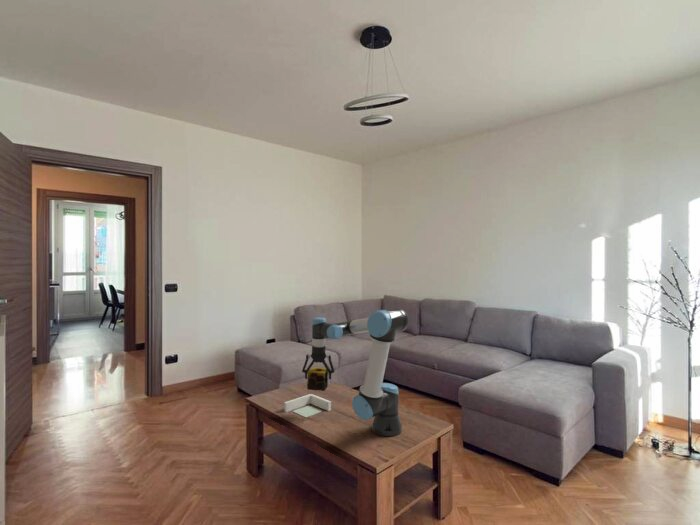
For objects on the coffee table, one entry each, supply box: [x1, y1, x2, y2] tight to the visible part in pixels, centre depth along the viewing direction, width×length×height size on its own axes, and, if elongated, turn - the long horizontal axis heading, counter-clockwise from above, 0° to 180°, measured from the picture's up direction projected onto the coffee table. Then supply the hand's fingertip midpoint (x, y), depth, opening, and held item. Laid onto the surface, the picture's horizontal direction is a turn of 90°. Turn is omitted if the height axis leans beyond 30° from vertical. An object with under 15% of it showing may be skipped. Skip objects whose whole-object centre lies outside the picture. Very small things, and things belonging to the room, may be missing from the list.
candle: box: [306, 366, 328, 392], centre depth 213 cm, size 10×10×10 cm
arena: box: [283, 393, 332, 413], centre depth 219 cm, size 18×20×5 cm
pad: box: [292, 405, 323, 418], centre depth 218 cm, size 12×12×1 cm
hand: (318, 384), depth 213 cm, fingers closed on candle, 11 cm apart
